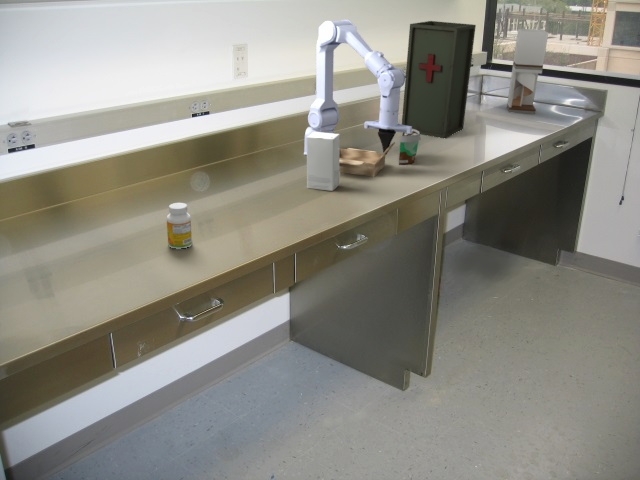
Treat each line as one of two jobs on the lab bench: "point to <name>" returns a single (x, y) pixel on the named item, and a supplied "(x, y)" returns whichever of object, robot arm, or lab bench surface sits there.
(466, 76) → the first aid box
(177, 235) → the supplement bottle
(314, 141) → the skincare box
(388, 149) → the flap
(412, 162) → the food container
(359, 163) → the flap
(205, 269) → the lab bench surface
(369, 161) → the carton
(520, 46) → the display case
